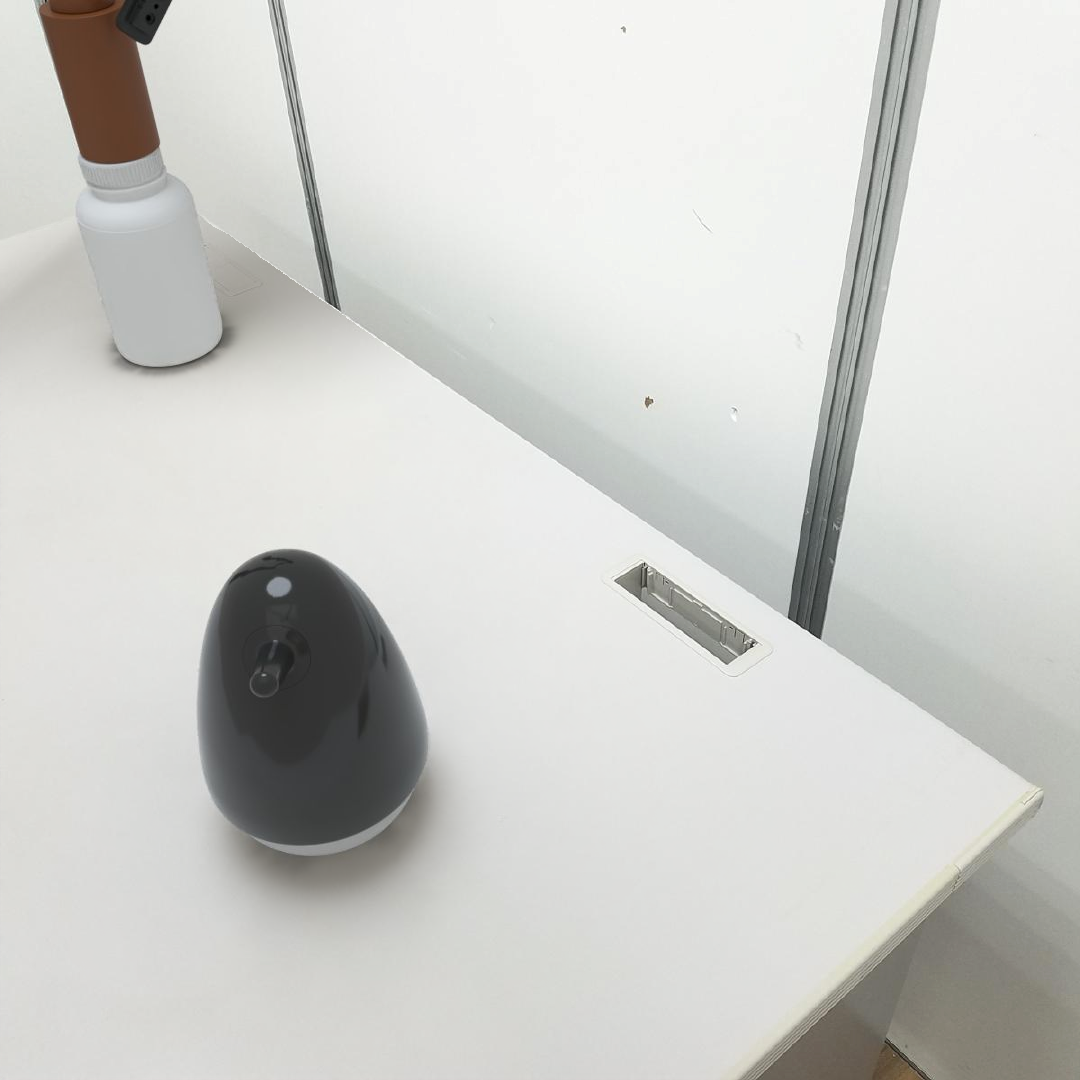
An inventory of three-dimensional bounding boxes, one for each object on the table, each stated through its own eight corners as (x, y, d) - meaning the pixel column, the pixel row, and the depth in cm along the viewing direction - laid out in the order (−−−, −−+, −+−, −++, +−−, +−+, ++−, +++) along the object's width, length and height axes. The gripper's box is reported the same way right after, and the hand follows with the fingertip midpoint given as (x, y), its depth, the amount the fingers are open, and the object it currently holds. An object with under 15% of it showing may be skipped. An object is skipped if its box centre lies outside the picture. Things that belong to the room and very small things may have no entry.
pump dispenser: (203, 901, 51) (113, 674, 41) (239, 719, 59) (171, 490, 49) (432, 891, 51) (398, 662, 41) (437, 711, 59) (411, 481, 49)
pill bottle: (96, 363, 84) (33, 167, 74) (149, 308, 90) (97, 120, 80) (195, 376, 83) (144, 178, 73) (242, 320, 88) (201, 129, 78)
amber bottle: (63, 156, 75) (3, -41, 67) (113, 127, 79) (62, -64, 71) (128, 168, 74) (75, -33, 66) (176, 137, 77) (131, -56, 69)
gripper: (108, -280, 70) (-8, -38, 72) (235, -260, 62) (101, 11, 64) (202, -191, 77) (93, 29, 78) (328, -163, 69) (203, 81, 71)
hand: (96, 21), depth 71 cm, fingers open, 8 cm apart
